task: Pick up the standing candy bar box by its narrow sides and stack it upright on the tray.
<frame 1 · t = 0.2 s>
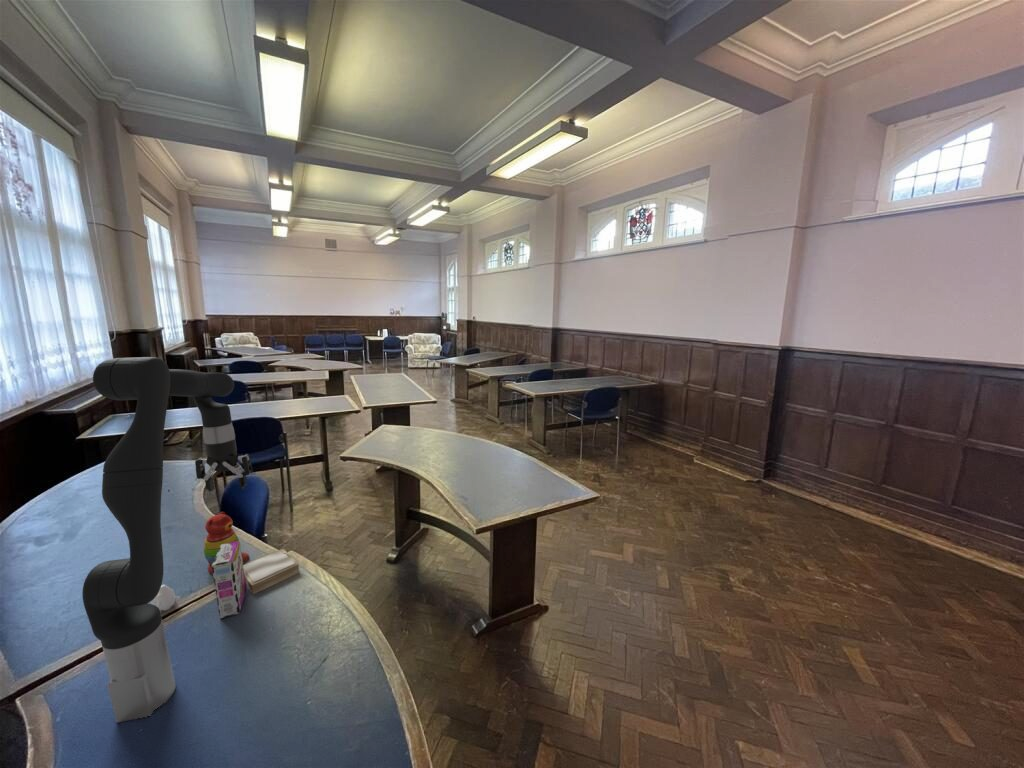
hand: (227, 489, 123), 28 cm above the table, fingers open, 8 cm apart
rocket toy: (167, 608, 113), on the table
stacking bear: (225, 565, 132), on the table
candy bar box: (234, 604, 115), on the table
tray: (269, 573, 127), on the table
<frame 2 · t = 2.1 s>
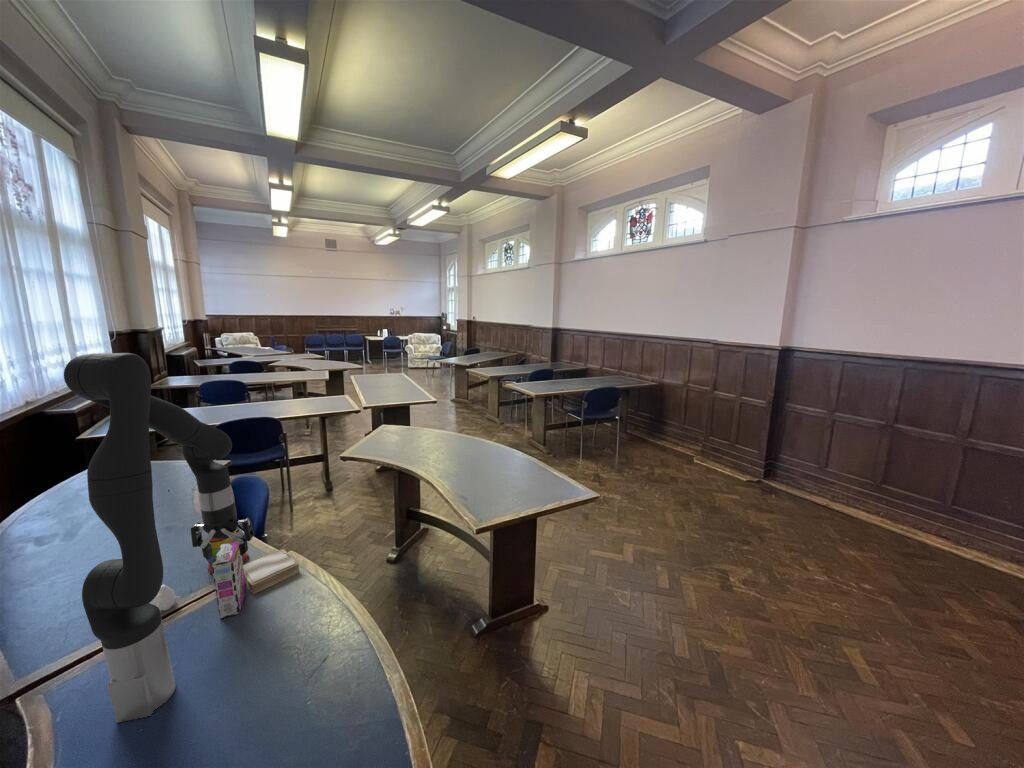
hand: (226, 555, 112), 15 cm above the table, fingers open, 8 cm apart
nothing on the table moved.
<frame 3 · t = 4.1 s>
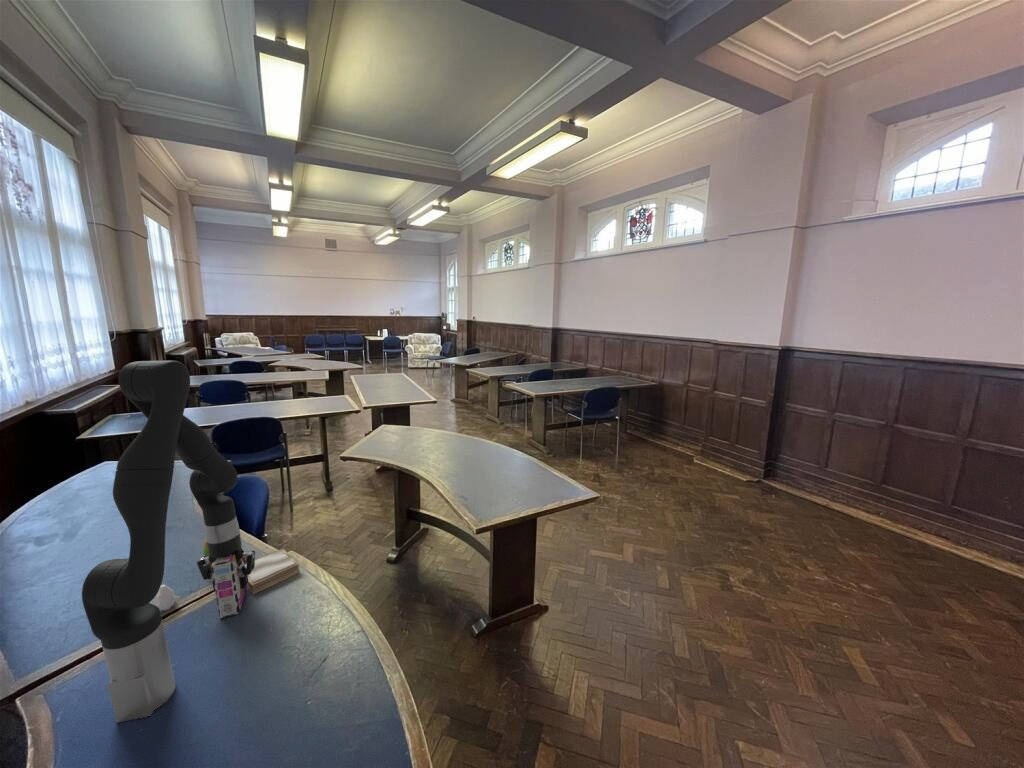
hand: (231, 588, 114), 5 cm above the table, fingers closed on candy bar box, 5 cm apart
candy bar box: (234, 604, 115), on the table, touching gripper
everything else where it was.
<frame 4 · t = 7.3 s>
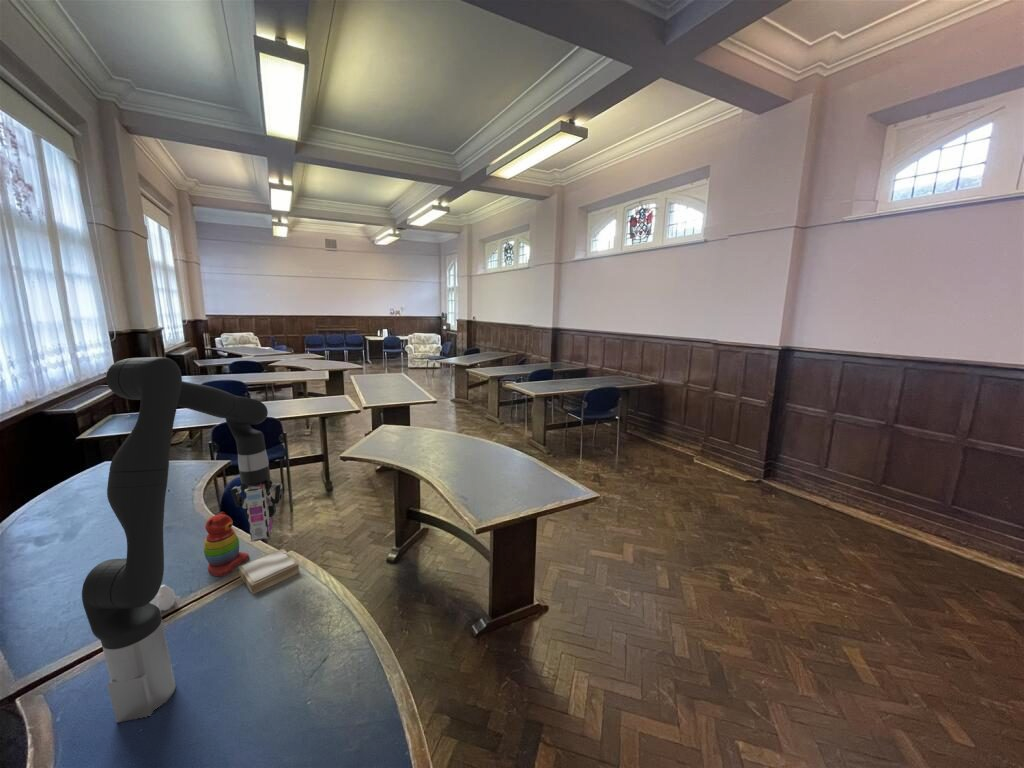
hand: (261, 516, 123), 20 cm above the table, fingers closed on candy bar box, 5 cm apart
candy bar box: (263, 531, 124), point 15 cm above the table, touching gripper
everything else where it was.
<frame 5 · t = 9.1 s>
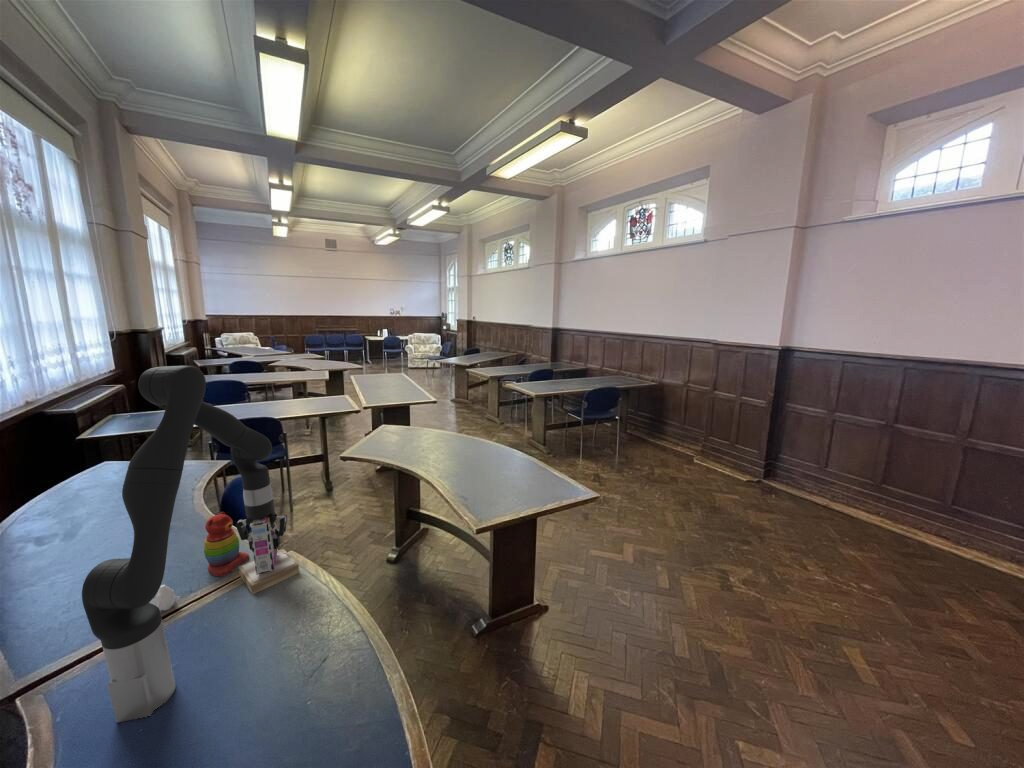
hand: (265, 548, 125), 9 cm above the table, fingers closed on candy bar box, 5 cm apart
candy bar box: (268, 563, 127), point 4 cm above the table, touching gripper
everything else where it was.
when the fingers open (9 cm above the table, at t = 10.5 s): candy bar box stays where it is, resting on tray.
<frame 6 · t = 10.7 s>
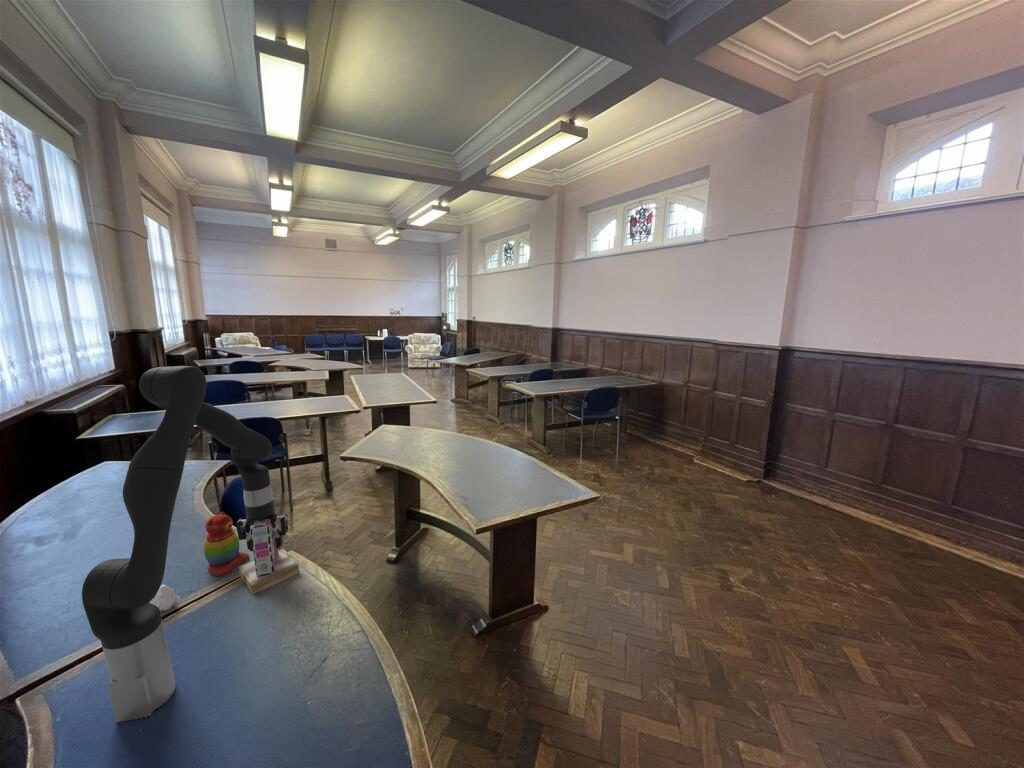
hand: (265, 548, 126), 9 cm above the table, fingers open, 7 cm apart
candy bar box: (268, 565, 127), point 3 cm above the table, touching tray
everything else where it was.
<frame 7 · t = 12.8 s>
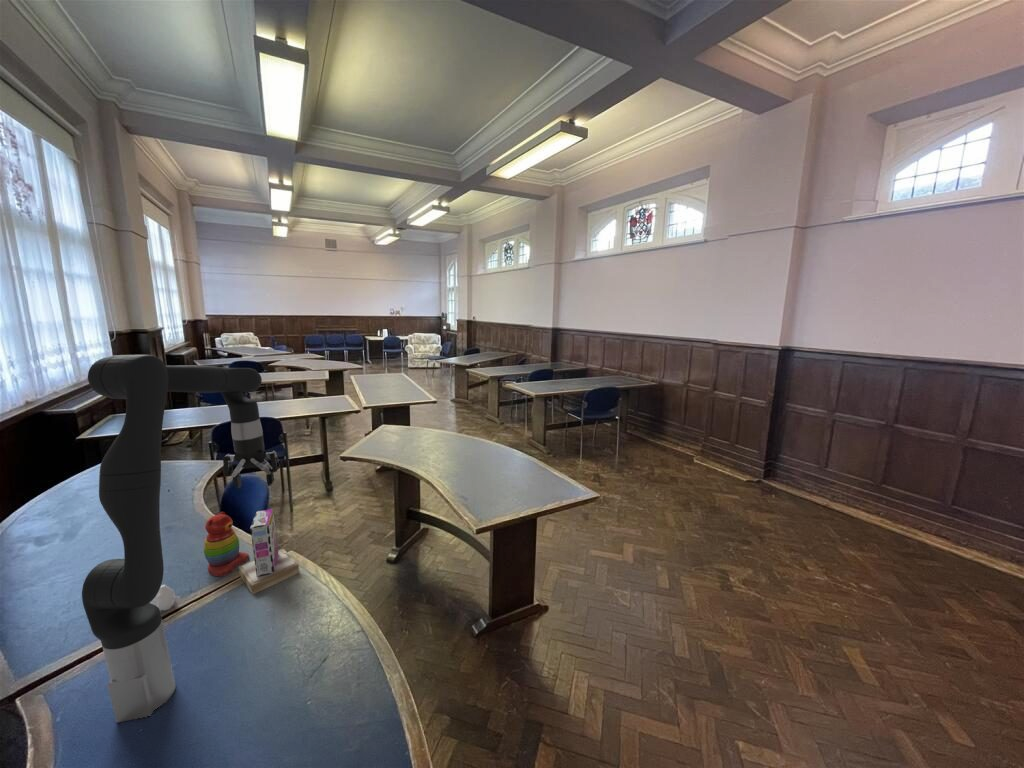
hand: (254, 486, 121), 30 cm above the table, fingers open, 8 cm apart
nothing on the table moved.
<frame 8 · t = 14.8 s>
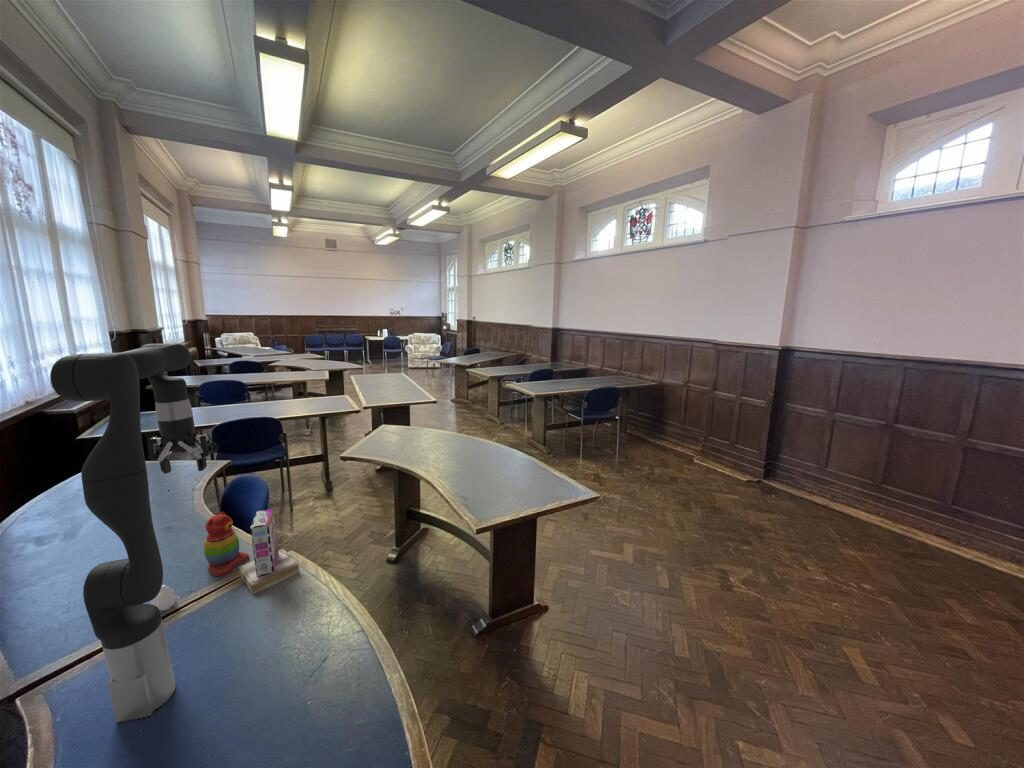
hand: (185, 471, 113), 38 cm above the table, fingers open, 8 cm apart
nothing on the table moved.
at the end: candy bar box 0.1 cm from the tray (horizontally); candy bar box touching tray; candy bar box tilted 0° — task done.
